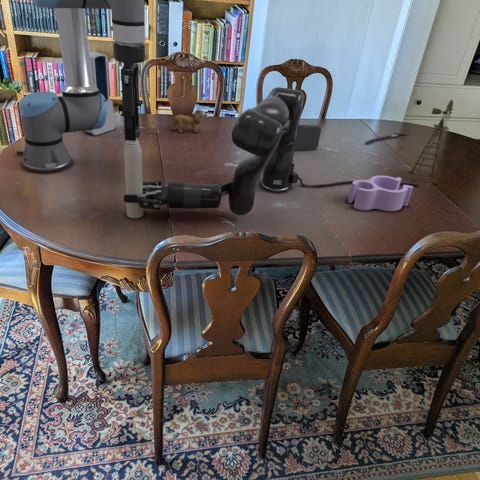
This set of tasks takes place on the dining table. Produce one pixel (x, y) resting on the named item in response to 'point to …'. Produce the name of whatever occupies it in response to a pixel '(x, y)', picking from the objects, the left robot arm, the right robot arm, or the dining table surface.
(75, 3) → the left robot arm
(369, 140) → the sword
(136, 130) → the cap
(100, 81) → the electronic device
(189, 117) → the lion figurine
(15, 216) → the dining table surface
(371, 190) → the clip
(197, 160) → the dining table surface
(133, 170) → the bottle
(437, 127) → the miniature windmill
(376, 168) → the dining table surface
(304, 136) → the handheld gaming console
